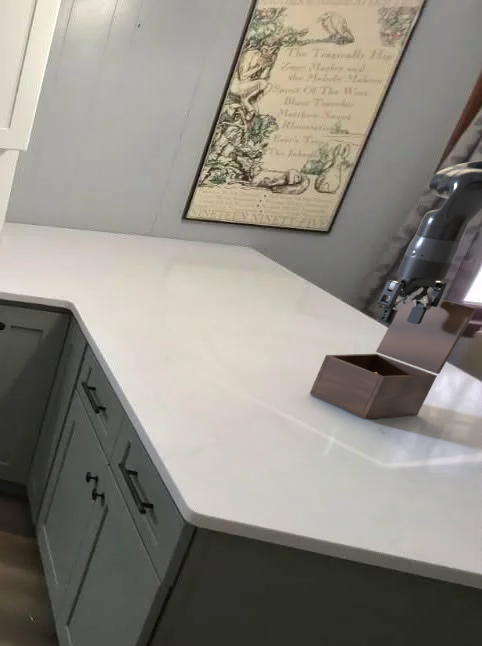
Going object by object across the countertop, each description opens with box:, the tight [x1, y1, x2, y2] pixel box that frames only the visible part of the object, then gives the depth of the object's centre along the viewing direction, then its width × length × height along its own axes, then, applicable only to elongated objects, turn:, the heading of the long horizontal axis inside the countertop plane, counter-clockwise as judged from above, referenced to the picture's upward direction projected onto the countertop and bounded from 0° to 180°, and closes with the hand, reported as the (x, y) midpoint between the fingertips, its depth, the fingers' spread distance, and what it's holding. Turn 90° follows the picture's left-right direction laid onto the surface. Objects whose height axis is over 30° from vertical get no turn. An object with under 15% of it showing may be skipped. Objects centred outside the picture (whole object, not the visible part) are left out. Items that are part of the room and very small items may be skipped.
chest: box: [309, 353, 438, 420], centre depth 153 cm, size 16×13×11 cm
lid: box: [375, 296, 477, 375], centre depth 150 cm, size 16×13×5 cm
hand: (398, 323), depth 148 cm, fingers open, 8 cm apart
